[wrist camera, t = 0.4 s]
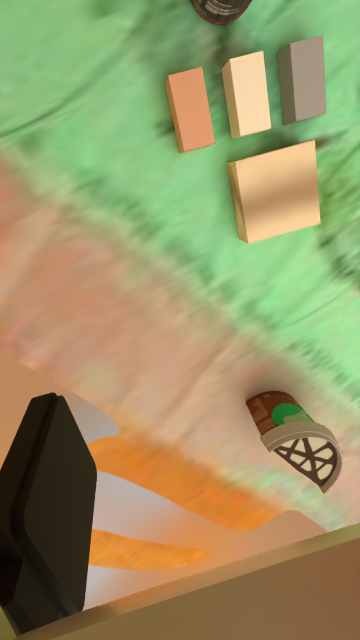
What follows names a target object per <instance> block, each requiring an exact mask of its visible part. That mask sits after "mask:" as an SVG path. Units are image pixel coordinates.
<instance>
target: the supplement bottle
mask: <svg viewBox="0 0 360 640" xmlns="http://www.w3.org/2000/svg"><path fill="white" fill-rule="evenodd" d="M251 1H252V0H191V2H192V4H193V6H194V8H195V9H196V11H197V12H198V13H199V14H200V15H201V16H202V17H203V18H204V19H205V20H207V21H209V22H211V23H214V24H227V23H230V22H232V21H234V20H236V19H237V18H238V17H239V16H241V15H242V14H243V12H244V11H245V10H246V9H247V8H248V6H249V4H250V3H251Z"/></svg>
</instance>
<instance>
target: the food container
mask: <svg viewBox="0 0 360 640" xmlns="http://www.w3.org/2000/svg"><path fill="white" fill-rule="evenodd" d="M246 404H247V406H248V409H249V411H250V413H251V415H252V417H253V419H254V422H255V424H256V426H257V428H258V430H259V432H260V434H261V437H260V439H261V440H262V442H263V444H264V445H265V447H266V448H267V449H268V451H269V453H270V452H271V451H272V450H273V451H274V452H276V453H277V454H278V455H280V456H281V457H282V458H283V459H285V460H286V461H287V462H288V463H289V464H291V465H292V466H293V467H294V468H295V469H296V470H298V471H299V472H301V473H302V474H304V475H305V476H307V477H308V478H310V479H311V480H312V481H313V482H315V483H316V484H317V485H318V486H319V487H320V489H321V490H322V492H323V493H324V494H325V493H326V492H327V491H328V490H329V489H330V488H331V487H332V486H333V485H334V484H335V482H336V481H337V479H338V477H339V475H340V473H341V470H342V464H343V463H342V456H341V451H340V447H339V445H338V443H337V441H336V439H335V437H334V435H333V434H332V432H331V431H330V430H329V429H328V428H326V427H325V426H323V425H321V424H319V423H315V422H314V421H313V419H312V418H311V417H310V416H309V415H308V414H307V413H306V412H305V411H304V410H303V409H302V407H301V406H300V405H299V404H298V403H297V402H296V401H295V400H294V399H293V398H292V397H291V396H290V395H289V394H286V393H284V392H280V391H269V392H264V393H261V394H258V395H256V396H254V397H253V398H251V399H250V400H248V401H247V402H246Z"/></svg>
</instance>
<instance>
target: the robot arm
mask: <svg viewBox="0 0 360 640" xmlns="http://www.w3.org/2000/svg"><path fill="white" fill-rule="evenodd" d="M96 481H97V470H96V465H95V462H94V460H93V458H92V456H91V454H90V452H89V449H88V447H87V445H86V443H85V441H84V439H83V437H82V435H81V432H80V430H79V428H78V426H77V424H76V422H75V419H74V417H73V415H72V413H71V411H70V409H69V406H68V404H67V402H66V400H65V398H64V397H63V396H62V395H61V396H57V395H56V394H55V393H53V392H52V393H49V394H45V395H41V396H38V397H34V398H32V399H31V401H30V403H29V405H28V408H27V410H26V412H25V415H24V417H23V420H22V422H21V424H20V426H19V429H18V431H17V433H16V436H15V438H14V440H13V443H12V445H11V447H10V450H9V452H8V454H7V457H6V459H5V461H4V463H3V465H2V468H1V470H0V640H360V523H357V524H354V525H351V526H348V527H344V528H341V529H338V530H335V531H331V532H328V533H325V534H322V535H319V536H315V537H313V538H309V539H306V540H303V541H299V542H296V543H293V544H290V545H286V546H283V547H280V548H277V549H274V550H270V551H267V552H264V553H261V554H258V555H255V556H251V557H249V558H245V559H242V560H239V561H236V562H233V563H229V564H226V565H223V566H220V567H217V568H214V569H210V570H207V571H204V572H201V573H198V574H194V575H192V576H188V577H185V578H182V579H179V580H176V581H172V582H169V583H166V584H163V585H160V586H157V587H153V588H150V589H148V590H144V591H141V592H138V593H135V594H132V595H130V596H126V597H123V598H120V599H118V600H115V601H112V602H109V603H106V604H103V605H100V606H97V607H94V608H91V609H88V610H85V611H82V610H83V607H84V601H85V592H86V581H87V572H88V562H89V552H90V542H91V532H92V522H93V511H94V501H95V491H96ZM81 611H82V612H81ZM78 612H79V613H78Z"/></svg>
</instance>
